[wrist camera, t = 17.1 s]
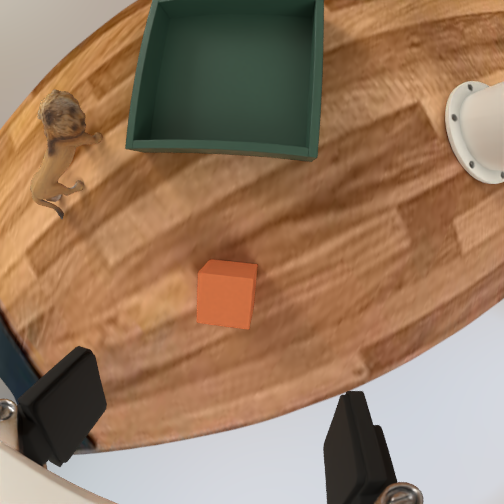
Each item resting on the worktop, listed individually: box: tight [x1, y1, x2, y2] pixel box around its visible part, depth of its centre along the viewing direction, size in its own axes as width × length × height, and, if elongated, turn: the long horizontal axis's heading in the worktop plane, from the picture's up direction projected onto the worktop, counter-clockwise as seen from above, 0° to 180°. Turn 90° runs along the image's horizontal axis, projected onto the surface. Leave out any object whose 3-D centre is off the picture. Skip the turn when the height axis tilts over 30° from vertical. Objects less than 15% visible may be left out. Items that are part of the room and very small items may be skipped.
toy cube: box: [197, 259, 258, 329], centre depth 29 cm, size 5×5×5 cm
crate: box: [125, 0, 324, 162], centre depth 25 cm, size 18×18×4 cm
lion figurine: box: [30, 90, 102, 219], centre depth 26 cm, size 15×5×9 cm, turn 159°
